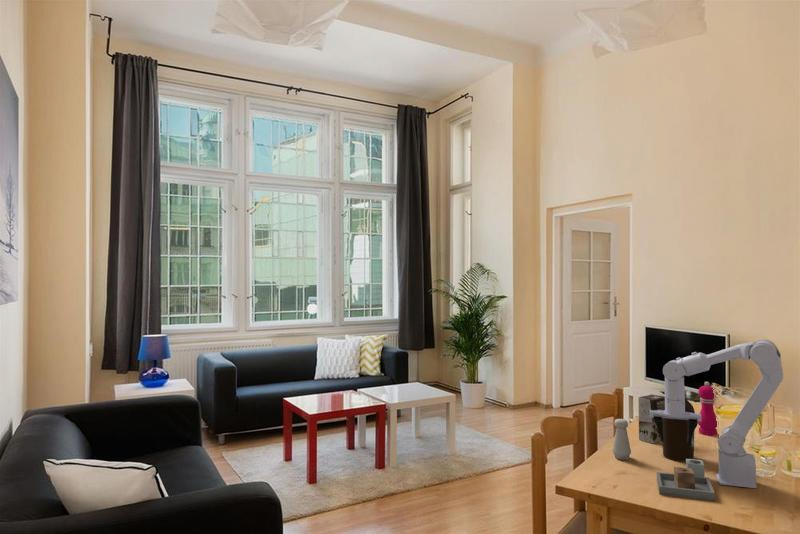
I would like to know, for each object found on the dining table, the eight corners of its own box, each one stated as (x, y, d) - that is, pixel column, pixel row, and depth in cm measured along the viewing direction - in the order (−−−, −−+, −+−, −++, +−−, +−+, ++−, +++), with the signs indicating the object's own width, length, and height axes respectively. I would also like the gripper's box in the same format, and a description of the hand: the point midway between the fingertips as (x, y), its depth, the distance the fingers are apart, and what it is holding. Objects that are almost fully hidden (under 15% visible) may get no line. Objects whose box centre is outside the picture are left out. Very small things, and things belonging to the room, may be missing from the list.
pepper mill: (694, 430, 220) (693, 379, 220) (713, 430, 219) (713, 379, 219) (701, 435, 213) (700, 383, 213) (721, 436, 212) (721, 383, 212)
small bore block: (690, 485, 164) (690, 467, 164) (694, 491, 160) (694, 473, 160) (674, 483, 165) (673, 466, 165) (677, 489, 161) (677, 472, 161)
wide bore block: (702, 476, 172) (702, 460, 172) (704, 481, 168) (704, 465, 168) (686, 474, 174) (686, 458, 174) (687, 479, 170) (687, 463, 170)
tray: (708, 485, 165) (708, 477, 165) (715, 500, 154) (714, 492, 154) (656, 479, 171) (656, 471, 171) (659, 494, 159) (659, 486, 160)
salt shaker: (632, 461, 187) (631, 422, 187) (614, 460, 188) (613, 421, 188) (628, 455, 192) (628, 417, 192) (611, 454, 194) (610, 417, 194)
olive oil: (663, 460, 187) (661, 385, 187) (659, 450, 197) (658, 379, 197) (698, 463, 183) (697, 387, 183) (693, 453, 193) (691, 381, 193)
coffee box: (654, 444, 204) (653, 400, 204) (638, 439, 209) (637, 396, 210) (668, 439, 209) (667, 396, 209) (652, 435, 214) (651, 393, 215)
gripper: (698, 397, 178) (699, 440, 178) (649, 394, 183) (649, 435, 183) (701, 402, 171) (702, 446, 171) (650, 399, 177) (650, 442, 177)
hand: (675, 441), depth 177 cm, fingers open, 7 cm apart
